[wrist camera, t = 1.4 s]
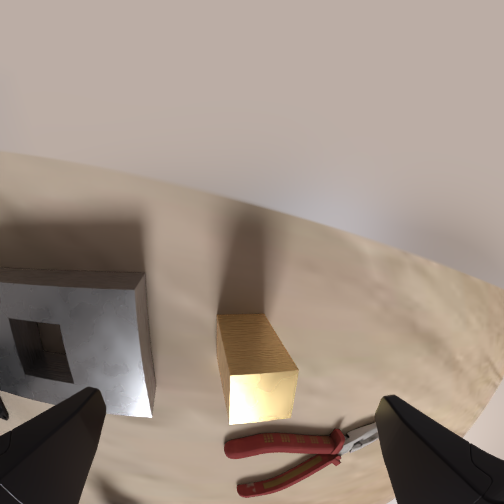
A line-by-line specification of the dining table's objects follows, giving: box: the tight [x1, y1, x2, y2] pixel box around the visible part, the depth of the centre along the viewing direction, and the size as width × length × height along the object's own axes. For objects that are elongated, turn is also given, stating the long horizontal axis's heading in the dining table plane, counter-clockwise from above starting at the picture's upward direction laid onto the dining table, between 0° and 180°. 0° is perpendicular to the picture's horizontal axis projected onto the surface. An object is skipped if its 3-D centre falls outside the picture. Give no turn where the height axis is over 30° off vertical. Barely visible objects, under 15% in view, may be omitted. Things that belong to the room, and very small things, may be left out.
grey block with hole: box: [0, 267, 156, 417], centre depth 17 cm, size 10×16×4 cm, turn 87°
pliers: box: [224, 423, 379, 498], centre depth 26 cm, size 12×20×3 cm, turn 96°
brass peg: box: [217, 314, 299, 424], centre depth 18 cm, size 4×4×8 cm
